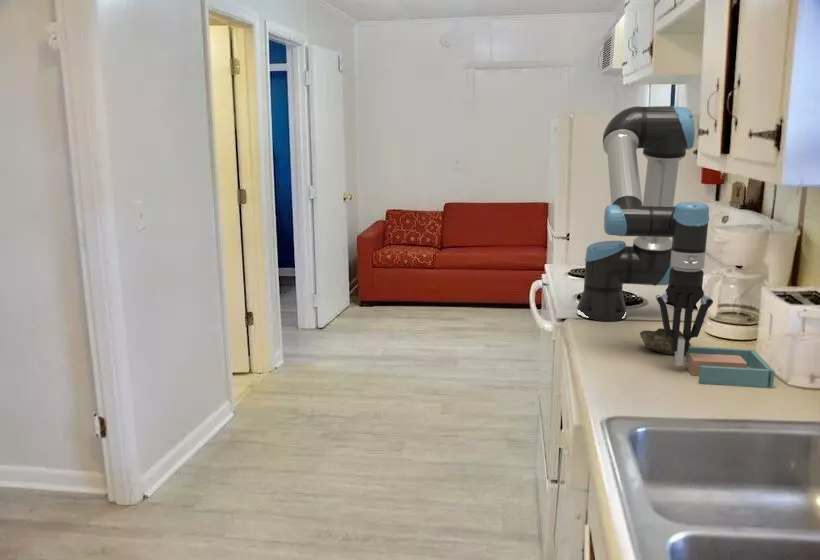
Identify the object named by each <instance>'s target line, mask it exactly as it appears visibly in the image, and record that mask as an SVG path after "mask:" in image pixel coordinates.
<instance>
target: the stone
mask: <svg viewBox="0 0 820 560" xmlns="http://www.w3.org/2000/svg"><path fill="white" fill-rule="evenodd" d="M670 329H671V328H670ZM671 331H672V329H671ZM639 336H640V338H641V340H642V342H643V344H644V347H645V348H648V350H651V351H656V352H658V353H661V354H666V355H670V356H671V355H675V351H672V349H671V342H672V337H670V336H667V335H666V334H665V332H664V328H662V327H660V328H657V329H656V330H642V331H640V332H639ZM679 337H683V331H681V330H679ZM689 346H692V344H691V342H690V341H689ZM684 354H687V352H684Z"/></svg>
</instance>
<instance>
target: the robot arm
mask: <svg viewBox="0 0 820 560" xmlns="http://www.w3.org/2000/svg"><path fill="white" fill-rule="evenodd" d="M693 116H694V115H693V113H692V111H691V110H690V109H689V108H688V107H685V106H677V105H676V106H675V105H668V106H667V105H664V106H657V105H655V106H640V105H639V106H638V105H637V106H631V107H628V108H624V109H623V110H621V111H619V112H618V113H617V114H615V116H614V117H612V118H611V120H610V121H609V122H608V124H607V125H606V127H605V130H604V131H603V136H602V146H603V147H602V148H603V151H604V152H605V154H607V160H608V161H607V163H608V165H607V166H608V175H609V176H608V177H609V178H608V179H609V191H610V201H611V202H610V204H611V205H607V206H606V207H605V210H604V215H603V230H604V233H606V235H608V236H617V237H618V236H619V237H635V238H634V239H633V243H632V244H633V245H632V246H629V245H628V246H627V244H626V242H625V241H622V240H604V241H598V242H593V243H591V244H589V245H588V246H587V247H586V253H585V259H584V261H585V266H584V267H585V268H584V269H585V270H584V282H583V292H582V295H581V296H580V299H579V301H578V303H577V306H576V310H577V309H578V310H580V311H581V312H583V313H584V314H585V315H586V316H588V317H589V318H590V319H594V320H593V321H597V320H598V321H599V322H615V321H617V322H619V321H622V320H621V319H622V317H623V316H624V314H625V312H626V309H627V306H626V303H625V299H624V295H623V285H624V284H626V285H645V286H648V285H649V286H667V285H668V286H667V287H666V289H665V292H663V293H661V294H657V295H656V296H655V299H656V301H657V303H658V305H659V309H660V314H661V315H660V316H661V319H662V327H663V329H664V332H665V334H666V335H667V336H670V337H672V342H671V349H672V351H675V354H674V360H673V362H674V364H675V366H678V367H682V366H684V356H685V355H684V354H685V353H684V352H688V350H689V342H690V341H691V339H692V338H698V336H699V335H700V331H701V328H702V326H703V323H704V321H705V318H706V315H707V312H708V310H709V308H710V307H711V306H712V305H713V303H714V300H713V299H712V298H711V297H709V296H707V295H706V294H705V291H704V288H703V283H704V271H703V269H704V268H705V260H706V249H707V248H706V247H707V239H708V230H709V228H708V227H709V222H710V207H709V205H708V204H707V203H704V202H703V203H702V202H694V201H691V202H690V201H682V202H678V203H676V205H674V203H675V195H676V187H677V179H678V172H679V163H680V162H681V160H683V158H686V154H687V150H689V151H690V150H691V149H693V147H694V144H695V121H694V117H693ZM637 149H643V150H642V155H643V156H644V157H645V158H646V159H647V165H646V173H645V182H644V191H643V198H642V189H641V182H640V181H641V180H640V174H639V173H640V172H639V164H638V156H637ZM671 238H672V239H671ZM668 299H669V300H670V302H671V303H672V305H673V315H672V316H673V317H672V324H670V319H669V312H668V308H667V305H666V303H668ZM699 301H700V306H699V308H698V311H697V314H696V316H695V319H694V323H693V325H692V321H693V312H694V307H695V306H696V305H697V303H699ZM683 308H684V315H683V316H684V317H683V328H682V333H683V337H679V331H681V330H680V329H681V319H682V317H681V316H682V310H683ZM590 319H589V320H590ZM671 325H672V326H671ZM671 328H672V331H671Z"/></svg>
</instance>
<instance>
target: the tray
mask: <svg viewBox="0 0 820 560" xmlns="http://www.w3.org/2000/svg"><path fill="white" fill-rule="evenodd" d="M688 353H696V354H713V355H714V354H719V355H737V356H741V357H742V358H743V359H744V361H745V362H746V363H747V368H736V367H719V366H702V365H700V372H699V376H698V383H699V384H701V385H716V386H733V387H734V386H735V387H750V388H762V389H763V388H764V389H766V388H767V389H774V382H775V381H774V380H775V370H774V369H773V368H772V366H770V364H768V362H767V361H766V360H765V359H764V358H763V357H761V356H760V355H759V354H758V352H757V351H756V350H755V349H748V348H747V349H744V348H727V347H725V348H724V347H711V346H710V347H708V346H707V347H706V346H692V345H691V346H689V350H688V352H687V353H685V354H686V355H685V363H687V364H688Z"/></svg>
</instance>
